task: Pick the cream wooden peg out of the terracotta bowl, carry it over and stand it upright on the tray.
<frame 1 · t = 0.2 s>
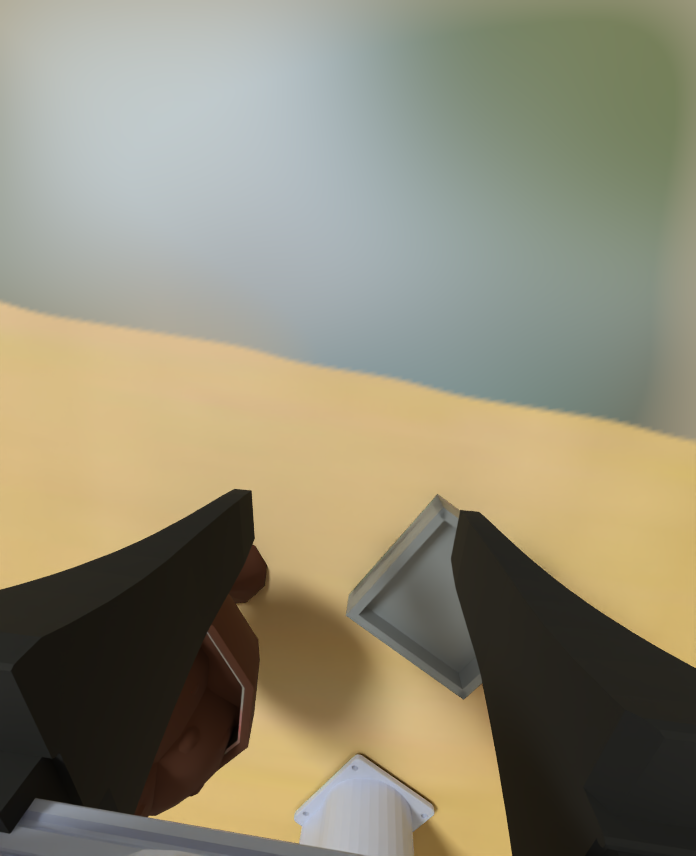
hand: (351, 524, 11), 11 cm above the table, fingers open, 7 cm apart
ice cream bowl: (232, 567, 25), on the table
tray: (447, 588, 23), on the table
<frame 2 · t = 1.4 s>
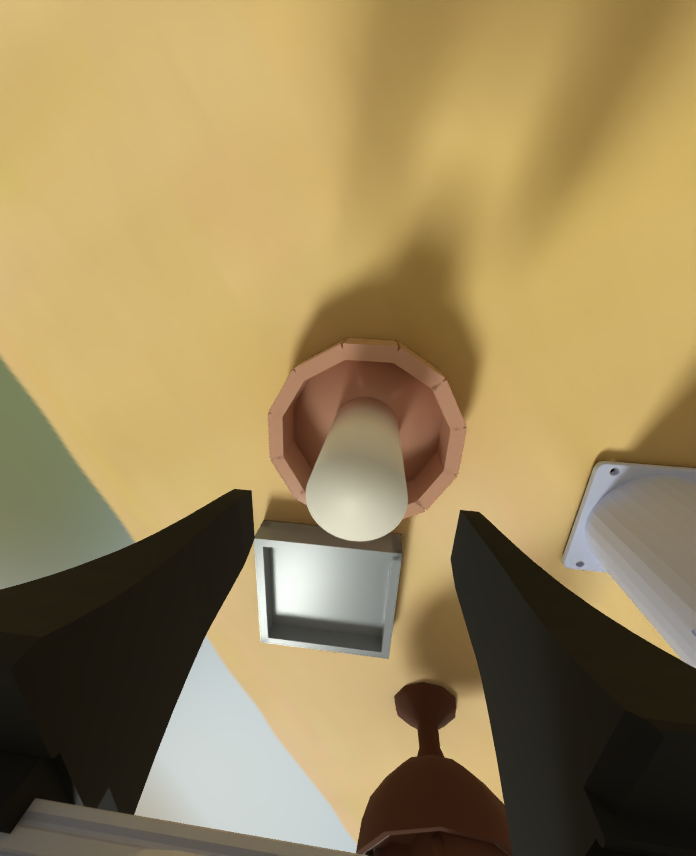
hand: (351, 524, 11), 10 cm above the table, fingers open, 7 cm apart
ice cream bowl: (424, 700, 30), on the table
peg: (365, 428, 20), resting on terracotta bowl
terracotta bowl: (366, 425, 21), on the table
tray: (329, 580, 25), on the table
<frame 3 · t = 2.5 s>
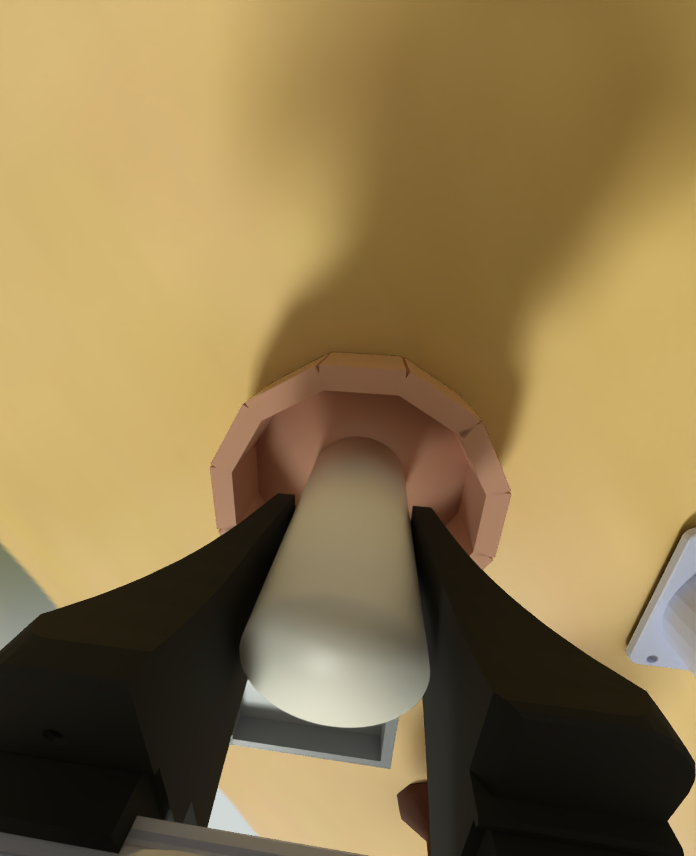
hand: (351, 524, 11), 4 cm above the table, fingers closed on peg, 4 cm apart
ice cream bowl: (434, 800, 24), on the table
peg: (358, 478, 14), resting on terracotta bowl, touching gripper
terracotta bowl: (358, 473, 15), on the table
tray: (312, 664, 20), on the table
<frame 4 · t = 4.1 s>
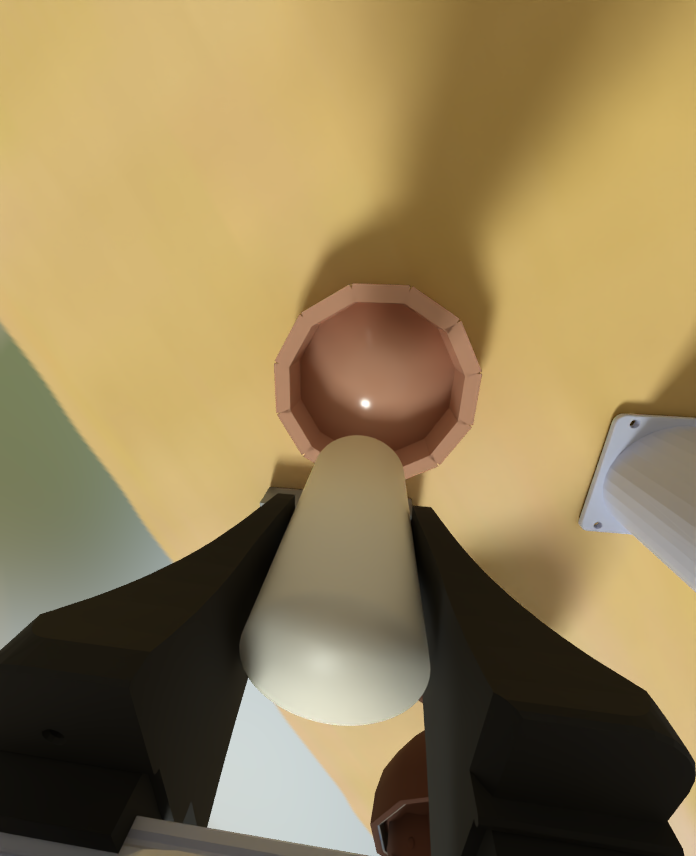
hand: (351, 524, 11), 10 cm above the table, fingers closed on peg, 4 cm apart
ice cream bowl: (436, 677, 29), on the table
peg: (358, 477, 14), point 7 cm above the table, touching gripper
terracotta bowl: (374, 381, 20), on the table
tray: (337, 550, 25), on the table
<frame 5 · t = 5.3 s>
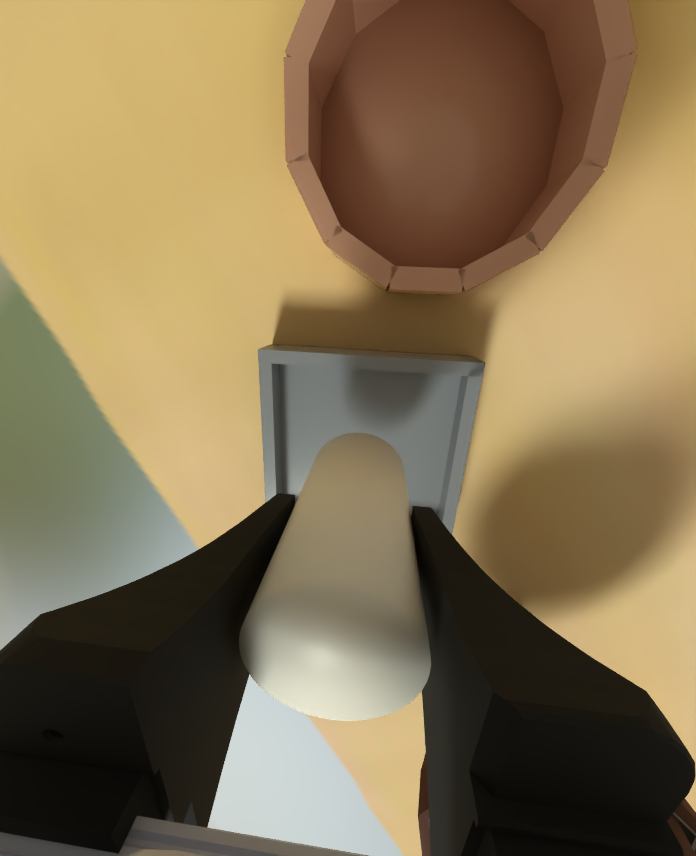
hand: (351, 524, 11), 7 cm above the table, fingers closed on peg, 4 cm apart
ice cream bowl: (484, 628, 22), on the table
peg: (358, 475, 14), point 4 cm above the table, touching gripper
terracotta bowl: (433, 152, 13), on the table
tray: (363, 442, 18), on the table
when the fingers open (6 cm above the table, at t = 6.0 s): peg drops 1 cm, resting on tray.
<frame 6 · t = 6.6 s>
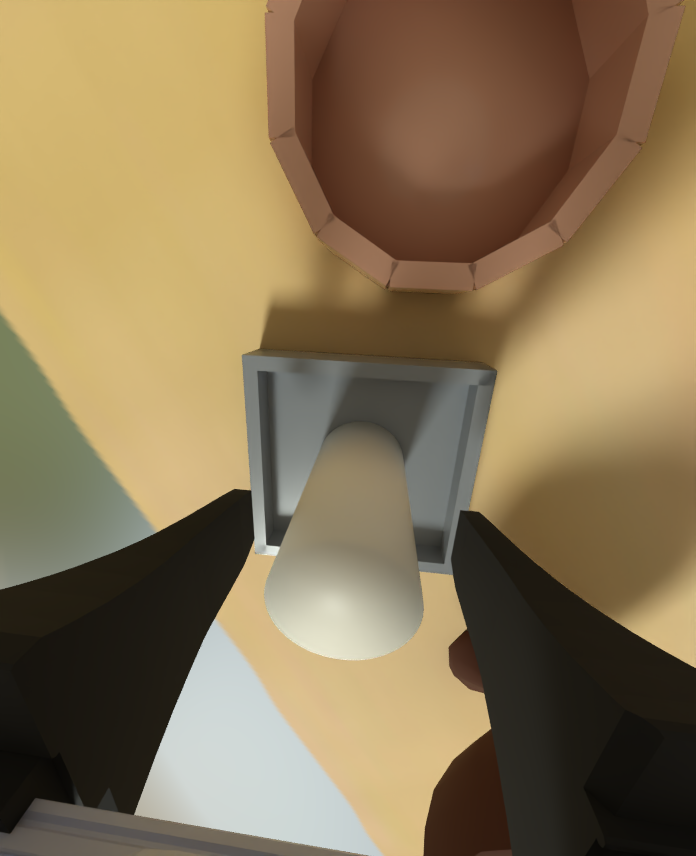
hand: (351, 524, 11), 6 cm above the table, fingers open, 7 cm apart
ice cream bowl: (491, 654, 21), on the table
peg: (360, 460, 16), point 1 cm above the table, touching tray
terracotta bowl: (438, 132, 12), on the table
tray: (361, 456, 16), on the table
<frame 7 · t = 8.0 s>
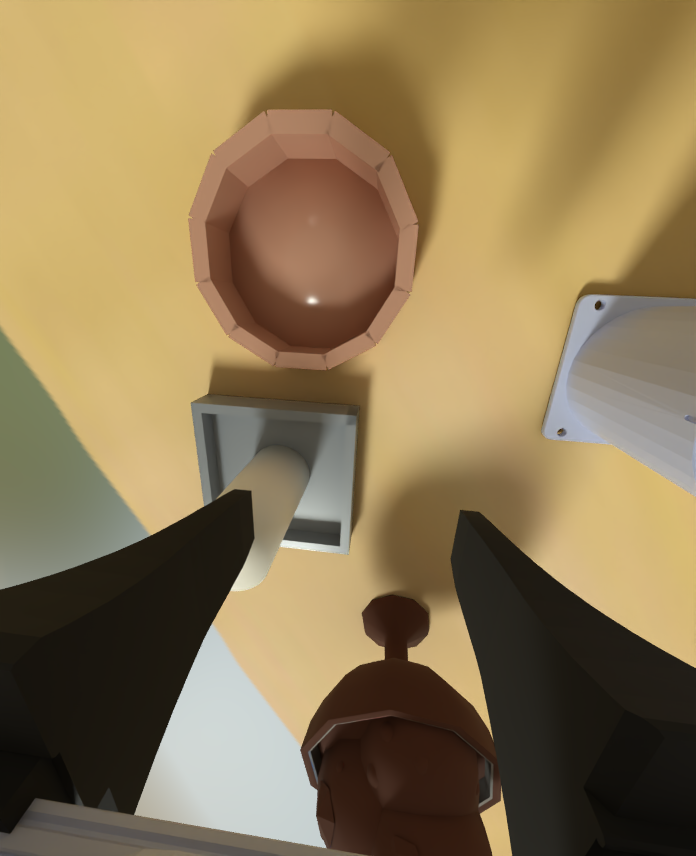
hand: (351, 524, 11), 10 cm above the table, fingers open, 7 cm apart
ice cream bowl: (395, 618, 27), on the table
peg: (280, 472, 22), point 1 cm above the table, touching tray
terracotta bowl: (313, 262, 18), on the table
tray: (283, 468, 23), on the table
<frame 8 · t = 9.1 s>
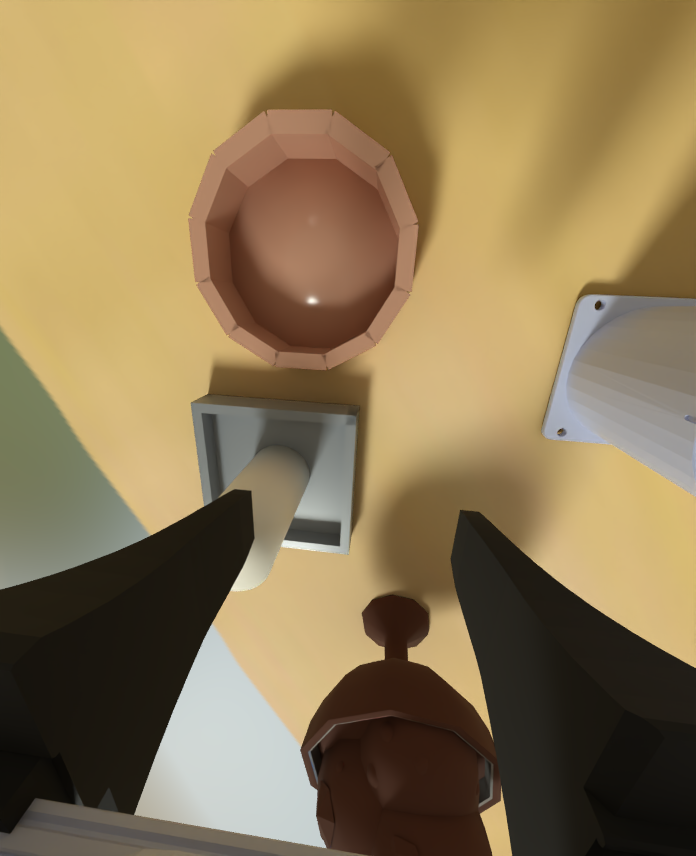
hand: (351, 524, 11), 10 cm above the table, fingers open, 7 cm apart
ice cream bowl: (395, 618, 27), on the table
peg: (280, 472, 22), point 1 cm above the table, touching tray
terracotta bowl: (313, 262, 18), on the table
tray: (283, 468, 23), on the table
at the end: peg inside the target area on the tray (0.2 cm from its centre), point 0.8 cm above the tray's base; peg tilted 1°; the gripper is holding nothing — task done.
